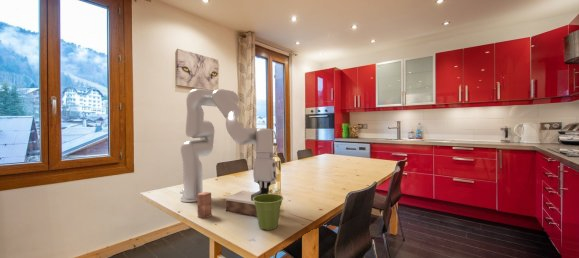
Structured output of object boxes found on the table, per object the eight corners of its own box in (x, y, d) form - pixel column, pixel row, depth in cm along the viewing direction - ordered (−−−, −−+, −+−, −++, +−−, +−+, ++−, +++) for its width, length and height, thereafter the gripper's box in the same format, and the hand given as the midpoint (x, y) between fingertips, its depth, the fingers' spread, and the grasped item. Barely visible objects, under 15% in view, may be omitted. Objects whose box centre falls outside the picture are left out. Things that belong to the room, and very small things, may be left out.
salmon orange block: (197, 217, 104) (197, 194, 104) (204, 213, 107) (204, 191, 107) (204, 218, 102) (204, 195, 102) (211, 215, 106) (211, 192, 106)
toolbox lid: (225, 200, 110) (225, 192, 110) (242, 192, 122) (242, 185, 121) (258, 205, 102) (258, 197, 102) (273, 196, 114) (273, 189, 114)
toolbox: (225, 211, 110) (225, 200, 110) (242, 202, 122) (242, 193, 122) (259, 217, 102) (258, 206, 102) (273, 207, 114) (273, 197, 114)
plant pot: (289, 225, 94) (289, 197, 94) (267, 236, 85) (267, 205, 85) (269, 218, 102) (268, 191, 101) (246, 227, 93) (246, 198, 93)
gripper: (282, 155, 108) (283, 195, 108) (255, 154, 114) (255, 192, 115) (274, 157, 101) (275, 200, 102) (245, 156, 108) (246, 196, 108)
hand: (264, 195), depth 108 cm, fingers closed
